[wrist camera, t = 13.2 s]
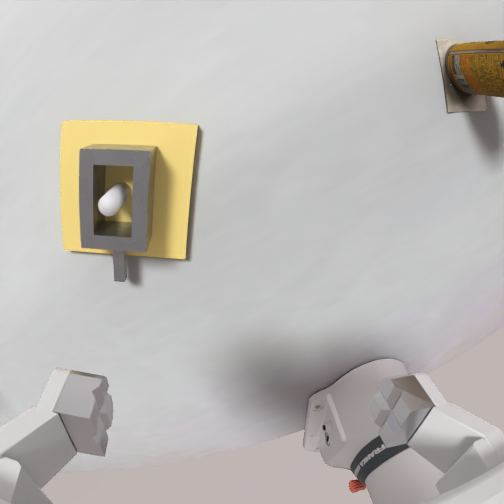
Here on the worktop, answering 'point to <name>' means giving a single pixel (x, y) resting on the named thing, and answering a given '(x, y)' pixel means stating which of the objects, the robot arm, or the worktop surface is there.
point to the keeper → (121, 180)
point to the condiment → (471, 73)
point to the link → (93, 189)
